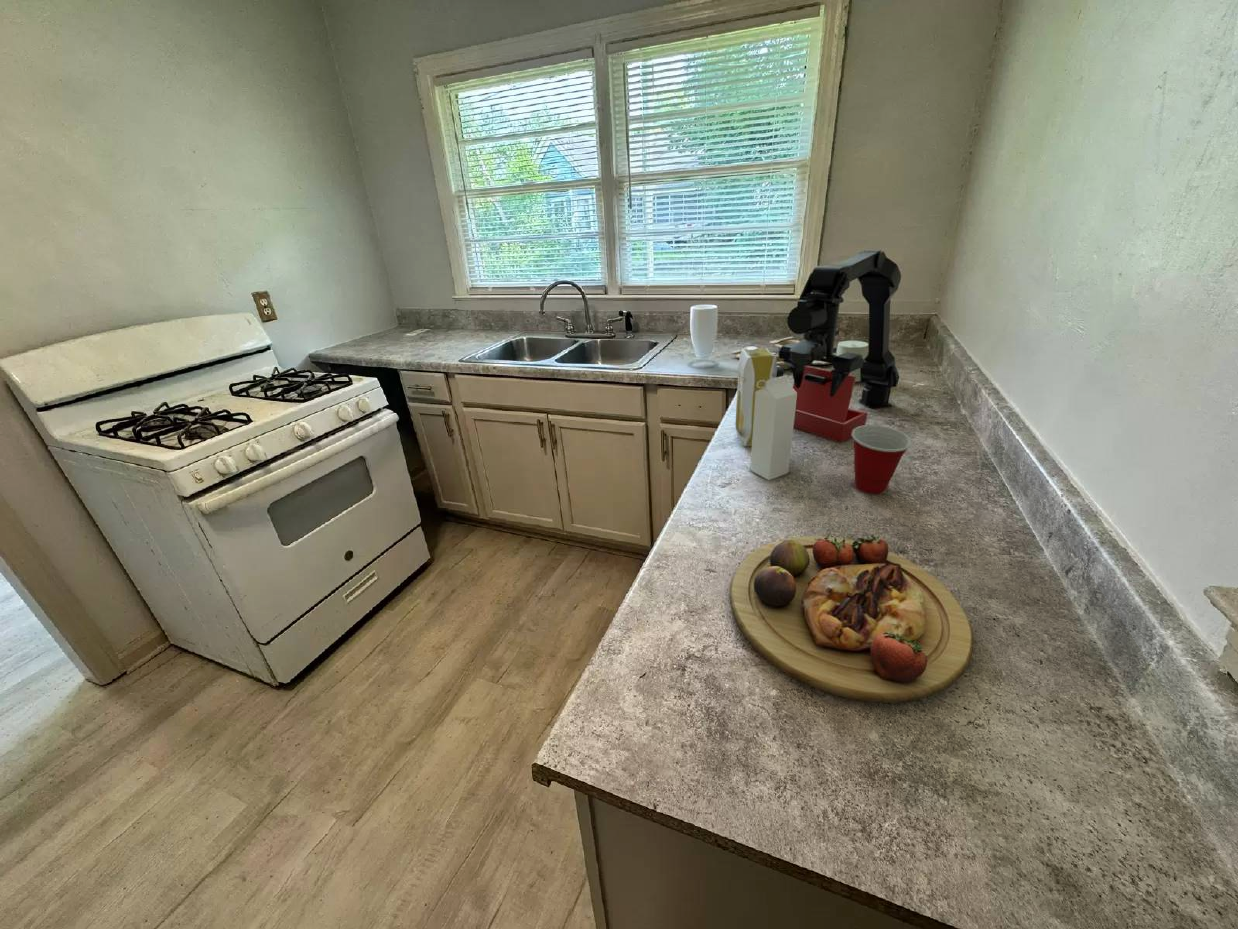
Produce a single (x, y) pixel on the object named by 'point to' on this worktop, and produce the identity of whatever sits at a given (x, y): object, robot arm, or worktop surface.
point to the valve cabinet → (830, 424)
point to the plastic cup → (877, 456)
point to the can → (854, 348)
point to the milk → (773, 428)
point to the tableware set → (779, 344)
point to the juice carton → (751, 387)
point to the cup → (703, 329)
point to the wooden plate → (851, 618)
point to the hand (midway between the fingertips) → (814, 392)
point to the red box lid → (823, 394)
